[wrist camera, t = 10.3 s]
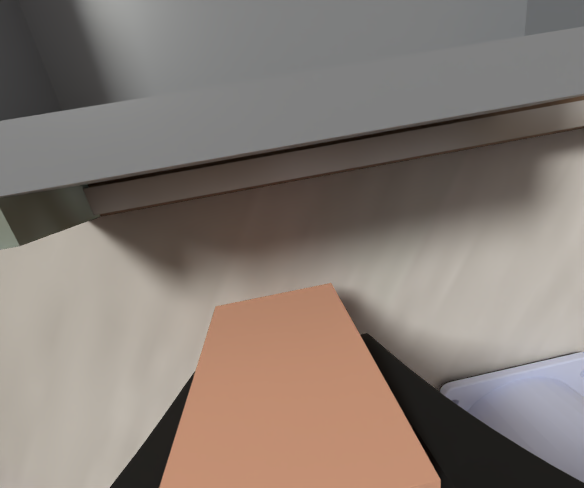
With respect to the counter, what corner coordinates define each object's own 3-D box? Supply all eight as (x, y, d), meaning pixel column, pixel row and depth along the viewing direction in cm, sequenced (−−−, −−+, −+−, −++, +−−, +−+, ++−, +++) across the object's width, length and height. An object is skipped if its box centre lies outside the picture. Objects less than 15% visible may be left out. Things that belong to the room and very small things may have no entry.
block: (343, 374, 11) (438, 626, 5) (242, 396, 10) (218, 686, 5) (331, 282, 9) (440, 479, 4) (215, 306, 9) (138, 554, 3)
